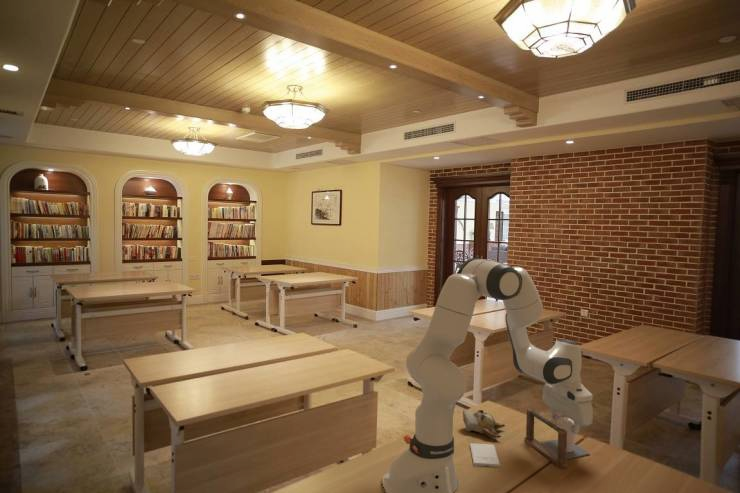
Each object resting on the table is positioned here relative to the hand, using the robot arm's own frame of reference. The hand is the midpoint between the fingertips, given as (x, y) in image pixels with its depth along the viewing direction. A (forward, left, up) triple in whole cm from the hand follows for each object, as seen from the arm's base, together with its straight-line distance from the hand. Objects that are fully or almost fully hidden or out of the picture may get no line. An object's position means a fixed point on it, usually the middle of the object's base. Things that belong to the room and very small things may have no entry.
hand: (565, 426), depth 153 cm
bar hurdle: (-8, 0, -8) cm, 11 cm away
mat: (0, 0, -8) cm, 8 cm away
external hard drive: (-28, +4, -9) cm, 30 cm away
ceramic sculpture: (-20, +19, -8) cm, 29 cm away
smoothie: (0, -1, -8) cm, 8 cm away
